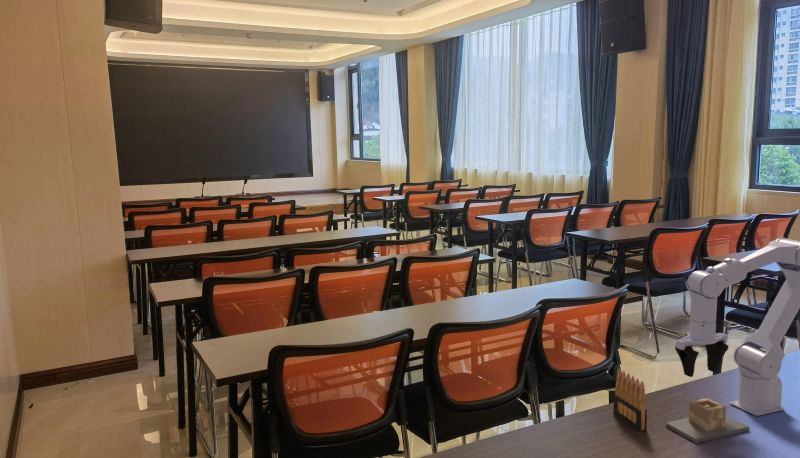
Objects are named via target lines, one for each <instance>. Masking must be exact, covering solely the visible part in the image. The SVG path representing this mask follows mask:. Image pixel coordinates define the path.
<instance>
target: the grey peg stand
mask: <svg viewBox="0 0 800 458" xmlns="http://www.w3.org/2000/svg"><path fill="white" fill-rule="evenodd" d="M704 407H707V408H711V406H709V405H705V406H704ZM665 427H666V428H667V429H669V430H671V431H673V432H675V433H676V434H679V435H680V436H682V437H684V438H685V439H688V440H689V441H691V442H692V443H695V444H699V443H703V442H707V441H711V440H715V439H719V438H724V437H727V436H731V435H735V434H737V435H738V434H740V433H745V432H748V431H750V426H749V425H746V424H745V423H743V422H740V421H738V420H736V419H734V418H732V417H730V416H728V415H726V419H725V427H723V428H719V429H715V430H711V431H706V430H704V429H702V428H700V427H698V426H696V425H694V424H692V423H691V422H689V417H686V418H680V419H677V420H672V421H668V422H665Z"/></svg>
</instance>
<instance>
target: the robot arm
mask: <svg viewBox="0 0 800 458" xmlns="http://www.w3.org/2000/svg"><path fill="white" fill-rule="evenodd" d="M774 263H775V264H776V265H777V266H778V267H779V269H780V270H781V272H782V273H783V275H784V278H785V281H784V282H783V283H782V286H781V287H780V289H779V291H778V293H777V295H776V296H775V298H774V300H773V302H772V304H771V306H770V308H769V310H768V311H767V313H766V315H765V317H764V319H763V320H762V322H761V324H760V325H759V328H758V330H757V332H755V333H754V334H751V335H748V336H746V337H745V338H744V340H743V341H742V342H741V343H740V344H739V345H737V347H736V348H735V349H734V352H733V361H734V362H735V364H736V365H738V366H737V369H738V370H739V383H738V387H739V388H738V400H733V401H729V402H730V403H729V404H730V405H732V406H734V407H736V408H738V409H740V410H743V411H745V412H747V413H750V414H752V415H754V416H762V415H766V414H771V413H775V412H780V411H783V410H785V407H783V406H782V398H783V397H782V395H783V394H782V393H783V392H782V391H783V384H782V380H781V378H780V376H778V374H779V373H780V372H781V369H782V364H783V359H784V357H785V355H786V354H785V352H784V350H783V348H782V346H781V343H782V341H783V339H784V338H785V335H786V334H787V332H788V330H789V328H790V326H791V325H792V323H793V321H794V319H795V317H796V316H797V314H798V312H799V310H800V240H796V239H790V238H787V237H779V238H777V239H775V240H772V241H770V242H769V243H768V245H766V246H763V247H762V248H760V249H759V250H756V251H755V252H752V253H751V254H749V255H747V256H745V257H743V258H741V259H738V258H734V257H733V258H730V257H726V258H724V259H723V262H720V263H718V264H715V265H714V266H708V267H707V268H706V269H705V270H695V271H693V272H692V273H691V274H690V275H689V276H688V279H687V281H685V286H686V289H687V290H688V291H689V298H690V309H689V311H690V312H689V332H688V333H686V336H684V337H682V338H679V339H676V340H675V346H674V349H675V351H676V354H677V355H678V357H679V359H680V362H681V365H682V369H683V374H684V375H685V376H687V377H689V378H692V377H694V374H695V366H696V361H697V358H698V356H699V353H700V352H699V351H696V350H694V347H695V348H696V347H699V346H704V347H705V350H706V358H707V361H706V362H707V363H706V366H707V367H706V368H707V371H710V372H712V373H717V372H718V370H719V366H720V363H721V361H722V359H723V356H724V355H725V354H726V353H727V352H728V350H729V345H728V344H726V343H728V334H727V333H722V332H717V331H716V330H717V328H716V327H717V305H718V297H720V295H721V294H722V293H723V291H724V289H726V288H728V287H730V286H733V285H736V284H737V283H739V282H741V281H743V280H745V279H746V278H747V275H748V273H750V272H752V271H755V270H758V269H760V268H763V267H766V266H769V265H771V264H774ZM716 332H717V333H716Z"/></svg>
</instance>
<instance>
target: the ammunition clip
mask: <svg viewBox="0 0 800 458" xmlns="http://www.w3.org/2000/svg"><path fill="white" fill-rule="evenodd" d="M645 390H646V389H645V384H644V381H643V380H642V381H639V378H636V380H635V375H632V376H631V375H630V373H629V372H628V373H627V374H626V372H625V370H623V371H622V370H621V368H618V370H617V373H616V382H615V394H614V395H613V412H612V414H614V415H615V416H616V417H618V418H619V419H621V420H622V421H623V422H625V423H627V424H628V425H630V426H631V427H632V428H633V429H635V430H636V431H638V432H645V431H647V430H648V429H647V426H648V425H647V423H648V422H647V421H648V420H647V419H648V415H647V413H648V412H647V411H648V410H647V409H646V391H645Z"/></svg>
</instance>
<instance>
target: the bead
mask: <svg viewBox="0 0 800 458" xmlns="http://www.w3.org/2000/svg"><path fill="white" fill-rule="evenodd" d="M705 405H709V406H711V408H707V407H704V406H705ZM688 408H689V409H688V410H689V412H688V413H689V414H688V418H689V422H691V423H692V424H694V425H696V426H698V427H700V428H702V429H704V430H706V431H711V430H715V429H719V428H723V427H725V419H726V416H727V413H726V412H727V406H726V405H723V404H721V403H719V402H717V401H715V400H713V399H710V398H708V397H706V398H701V399H697V400H692V401H689V407H688Z"/></svg>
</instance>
